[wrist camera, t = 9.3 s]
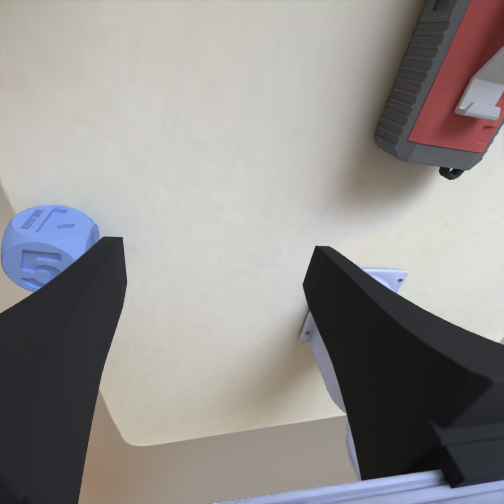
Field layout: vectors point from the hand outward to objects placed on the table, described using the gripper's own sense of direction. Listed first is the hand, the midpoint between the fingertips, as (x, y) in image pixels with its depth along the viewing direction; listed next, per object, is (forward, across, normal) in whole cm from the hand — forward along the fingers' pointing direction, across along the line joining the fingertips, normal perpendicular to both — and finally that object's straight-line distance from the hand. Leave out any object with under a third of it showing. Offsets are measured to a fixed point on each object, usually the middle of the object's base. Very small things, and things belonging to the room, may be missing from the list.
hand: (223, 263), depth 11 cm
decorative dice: (+10, +9, +5) cm, 14 cm away
